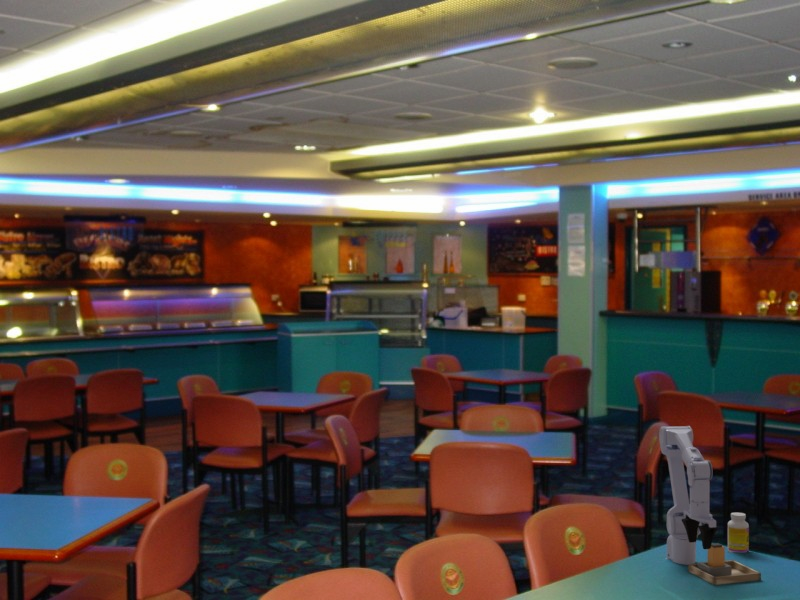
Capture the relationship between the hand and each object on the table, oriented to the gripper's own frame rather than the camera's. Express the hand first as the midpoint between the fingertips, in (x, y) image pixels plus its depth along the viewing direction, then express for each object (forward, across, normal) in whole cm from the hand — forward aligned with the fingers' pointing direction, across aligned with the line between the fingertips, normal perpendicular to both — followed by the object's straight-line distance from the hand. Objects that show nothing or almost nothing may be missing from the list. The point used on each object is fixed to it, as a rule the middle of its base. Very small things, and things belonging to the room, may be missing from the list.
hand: (699, 545), depth 304 cm
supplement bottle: (+11, +21, -28) cm, 37 cm away
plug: (+7, -1, -5) cm, 9 cm away
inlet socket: (+9, -1, -4) cm, 10 cm away
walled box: (+10, -1, -8) cm, 13 cm away
